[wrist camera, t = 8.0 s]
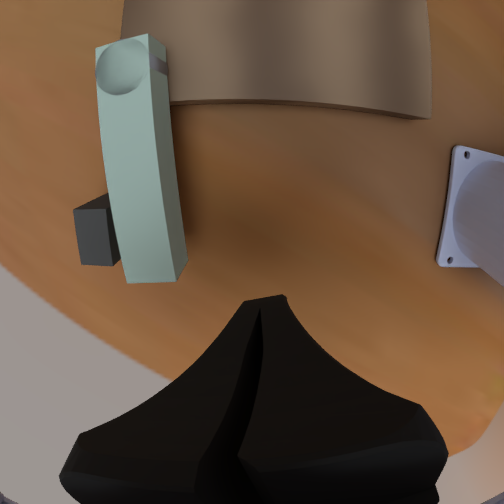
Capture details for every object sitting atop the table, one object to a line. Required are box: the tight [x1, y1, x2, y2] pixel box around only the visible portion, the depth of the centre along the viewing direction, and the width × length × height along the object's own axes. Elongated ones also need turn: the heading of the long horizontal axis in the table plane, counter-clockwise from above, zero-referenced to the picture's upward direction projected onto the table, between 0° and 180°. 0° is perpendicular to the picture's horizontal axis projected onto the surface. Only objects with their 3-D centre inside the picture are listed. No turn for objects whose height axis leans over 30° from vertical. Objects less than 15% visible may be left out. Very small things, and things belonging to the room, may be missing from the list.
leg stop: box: [73, 193, 121, 266], centre depth 17 cm, size 2×3×4 cm, turn 179°
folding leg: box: [95, 34, 188, 283], centre depth 13 cm, size 11×3×2 cm, turn 4°
